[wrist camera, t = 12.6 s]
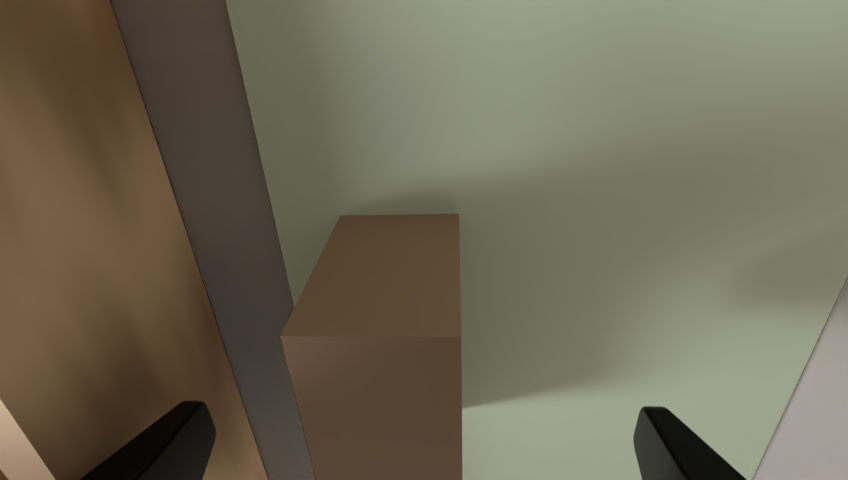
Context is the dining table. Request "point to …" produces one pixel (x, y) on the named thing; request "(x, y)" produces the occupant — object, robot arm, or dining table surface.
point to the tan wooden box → (95, 260)
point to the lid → (547, 223)
